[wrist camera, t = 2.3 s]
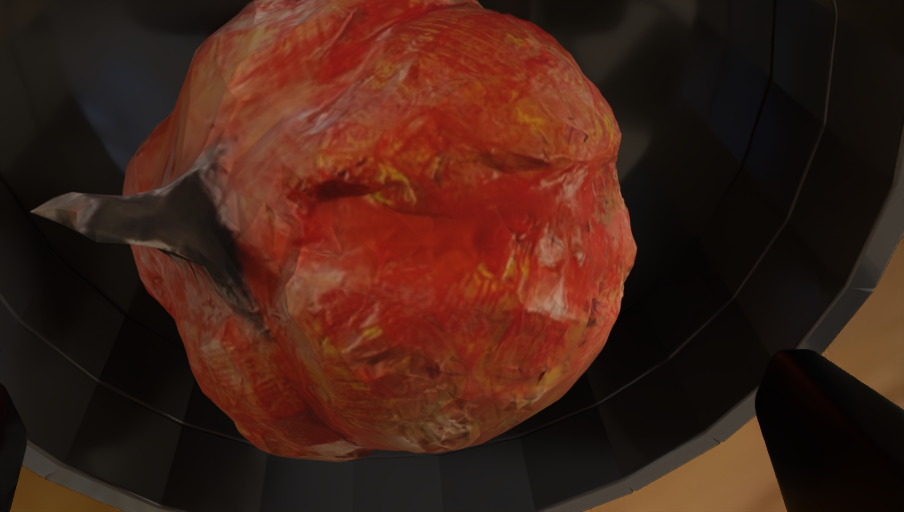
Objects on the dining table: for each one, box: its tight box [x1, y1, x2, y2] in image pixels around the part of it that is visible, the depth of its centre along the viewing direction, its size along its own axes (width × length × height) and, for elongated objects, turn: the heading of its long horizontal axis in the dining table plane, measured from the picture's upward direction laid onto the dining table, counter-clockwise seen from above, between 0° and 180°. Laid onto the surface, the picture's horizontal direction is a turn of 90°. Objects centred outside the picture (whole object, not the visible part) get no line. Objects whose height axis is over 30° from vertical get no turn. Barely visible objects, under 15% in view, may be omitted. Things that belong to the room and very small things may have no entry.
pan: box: [0, 0, 904, 512], centre depth 12 cm, size 16×16×4 cm
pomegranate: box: [31, 0, 637, 462], centre depth 11 cm, size 7×7×10 cm
